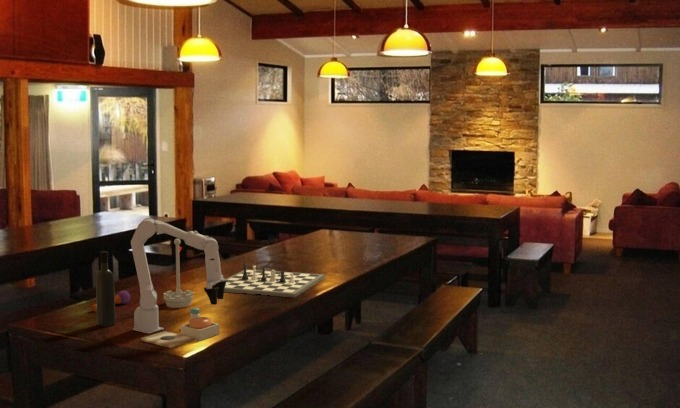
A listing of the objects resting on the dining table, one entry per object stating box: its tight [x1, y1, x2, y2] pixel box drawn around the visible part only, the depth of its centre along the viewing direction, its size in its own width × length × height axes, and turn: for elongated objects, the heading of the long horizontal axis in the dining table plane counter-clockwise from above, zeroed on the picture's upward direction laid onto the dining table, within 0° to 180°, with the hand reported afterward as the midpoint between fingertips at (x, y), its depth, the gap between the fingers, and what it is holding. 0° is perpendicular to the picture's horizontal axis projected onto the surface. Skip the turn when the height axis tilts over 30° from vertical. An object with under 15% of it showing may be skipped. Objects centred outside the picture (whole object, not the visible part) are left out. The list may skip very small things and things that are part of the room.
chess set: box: [224, 261, 325, 298], centre depth 373 cm, size 45×45×11 cm
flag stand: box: [163, 238, 194, 309], centre depth 330 cm, size 13×13×30 cm
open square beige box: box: [180, 321, 221, 341], centre depth 285 cm, size 10×10×4 cm
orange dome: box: [188, 316, 212, 329], centre depth 285 cm, size 8×8×4 cm
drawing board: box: [140, 330, 195, 349], centre depth 278 cm, size 16×12×1 cm
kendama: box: [90, 290, 131, 313], centre depth 327 cm, size 6×6×20 cm
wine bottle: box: [95, 250, 116, 328], centre depth 297 cm, size 6×6×30 cm
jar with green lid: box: [189, 307, 201, 319], centre depth 298 cm, size 4×4×7 cm
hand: (217, 301), depth 295 cm, fingers open, 7 cm apart
